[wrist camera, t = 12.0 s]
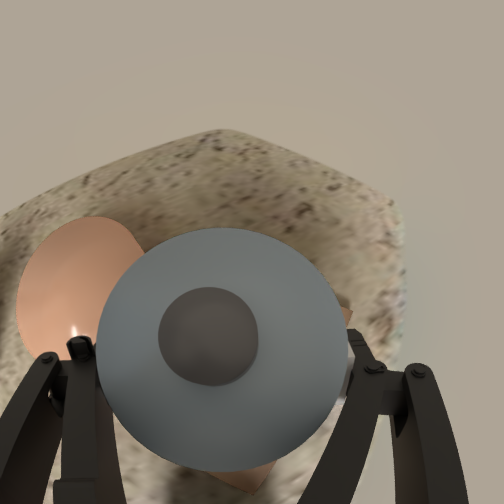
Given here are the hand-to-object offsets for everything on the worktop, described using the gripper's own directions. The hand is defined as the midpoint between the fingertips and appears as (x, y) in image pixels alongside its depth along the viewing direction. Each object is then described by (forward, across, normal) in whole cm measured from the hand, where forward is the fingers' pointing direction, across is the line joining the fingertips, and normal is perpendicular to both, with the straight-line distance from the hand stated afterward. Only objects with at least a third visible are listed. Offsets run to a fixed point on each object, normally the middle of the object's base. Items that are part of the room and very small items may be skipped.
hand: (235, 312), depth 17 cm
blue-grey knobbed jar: (0, 0, -4) cm, 4 cm away
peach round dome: (+5, -13, -3) cm, 14 cm away
